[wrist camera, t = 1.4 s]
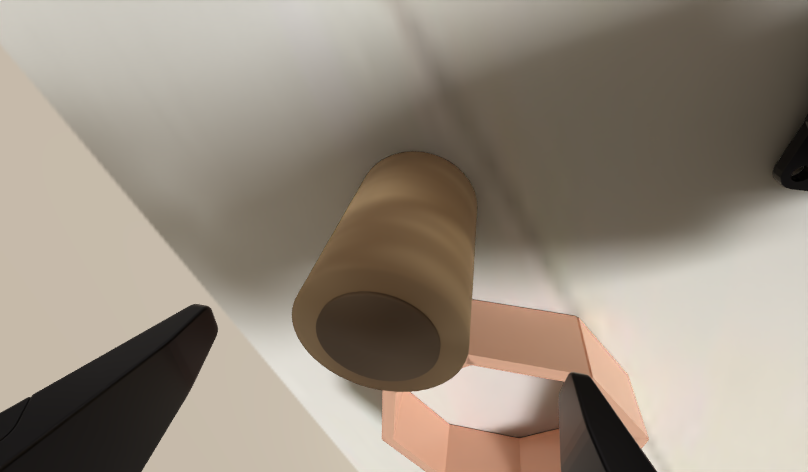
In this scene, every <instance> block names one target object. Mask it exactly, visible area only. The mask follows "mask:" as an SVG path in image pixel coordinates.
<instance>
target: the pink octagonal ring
mask: <svg viewBox="0 0 808 472" xmlns="http://www.w3.org/2000/svg"><path fill="white" fill-rule="evenodd" d="M469 365H474V366H480V367H485V368H491V369H497V370H502V371H508V372H513V373H519V374H524V375H530V376H535V377H541V378H546V379H552V380H558V381H563V382H565V380H566V378H567V376H568V374H569V373H571V372H576V373H582V374H586V375H588V376H590V377H591V378H592V379H593V381H594V382H595V384H596V385H597V387H598V388H599V389H600V391H601V392H602V394H603V395H604V397H605V398H606V399H607V401H608V402H609V404H610V405H611V407H612V408H613V409H614V411H615V412H616V414H617V415H618V417H619V418H620V419H621V421H622V422H623V424H624V425H625V427H626V428H627V429H628V431H629V432H630V434H631V435H632V437H633V438H634V439H635V441H636V442H637V444H638V445H639V447H640V448H641V449H642V447H643V446H644V445H645V444H646V443H647V441H648V440H649V439H648V438H649V437H648V434H647V431H646V428H645V425H644V422H643V419H642V416H641V413H640V410H639V407H638V404H637V401H636V397H635V394H634V391H633V388H632V385H631V382H630V379H629V376H628V374H627V373H626V372H625V371H624V370H623V368H622V367H621V366H620V365H619V364H618V363H617V361H616V360H615V359H614V358H613V357H612V356H611V354H610V353H609V352H608V351H607V350H606V349H605V347H604V346H603V345H602V344H601V343H600V342H599V341H598V339H597V338H596V337H595V336H594V335H593V334H592V332H591V331H590V330H589V329H588V328H587V327H586V325H585V324H584V323H583V322H582V321H581V320H580V318H577V317H576V316H571V315H565V314H559V313H553V312H546V311H540V310H534V309H528V308H521V307H515V306H509V305H502V304H496V303H490V302H484V301H477V300H472V307H471V324H470V342H469V352H468V356H467V359H466V362H465V363H464V365H463V367H462V368H464V367H466V366H469ZM382 439H383V441H385V442H386V443H387V444H389V445H390V446H391V447H393V448H394V449H396V450H397V451H398V452H400V453H401V454H402V455H404V456H405V457H406V458H408V459H409V460H411V461H412V462H413V463H415V464H416V465H417V466H419V467H420V468H422V469H423V470H424V471H426V472H561V463H560V434H559V429H556V430H552V431H548V432H543V433H539V434H535V435H531V436H527V437H523V438H515V437H510V436H505V435H500V434H495V433H490V432H485V431H480V430H475V429H470V428H465V427H460V426H455V425H450V424H448V423H447V422H446V421H445V420H443V419H442V418H441V417H440V416H438V415H437V414H436V413H435V412H434V411H432V410H431V409H430V408H429V407H427V406H426V405H425V404H424V403H423V402H421V401H420V400H419V399H418V398H416V397H415V396H414V395H413V394H411V393H410V392H394V391H384V390H383V395H382Z"/></svg>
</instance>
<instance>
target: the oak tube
mask: <svg viewBox="0 0 808 472" xmlns="http://www.w3.org/2000/svg"><path fill="white" fill-rule="evenodd" d="M476 221H477V199H476V195H475V192H474V189H473V187H472V185H471V183H470V181H469V180H468V178H467V177H466V176H465V174H464V173H463V172H462V171H461V170H460V169H459V168H458V167H456V166H455V165H454V164H452V163H451V162H449V161H447V160H446V159H444V158H442V157H439V156H437V155H434V154H430V153H425V152H416V151H411V152H402V153H397V154H394V155H391V156H389V157H387V158H385V159H383V160H381V161H380V162H378V163H377V164H376V165H375V166H374V167H373V168H372V169H371V170H370V171H369V172H368V174H367V175H366V177H365V179H364V180H363V182H362V184H361V186H360V187H359V189H358V191H357V193H356V194H355V196H354V198H353V199H352V201H351V203H350V205H349V206H348V208H347V210H346V212H345V213H344V215H343V217H342V219H341V220H340V222H339V224H338V225H337V227H336V229H335V231H334V232H333V234H332V236H331V238H330V239H329V241H328V243H327V244H326V246H325V248H324V250H323V251H322V253H321V255H320V257H319V258H318V260H317V262H316V264H315V265H314V267H313V269H312V270H311V272H310V274H309V276H308V277H307V279H306V281H305V283H304V284H303V286H302V288H301V289H300V291H299V293H298V295H297V297H296V298H295V301H294V304H293V308H292V322H293V326H294V330H295V332H296V334H297V337H298V339H299V340H300V342H301V343H302V345H303V346H304V348H305V349H306V350H307V351H308V353H309V354H310V355H311V356H312V357H313V358H314V359H315V360H317V361H318V362H319V363H320V364H321V365H323V366H324V367H326V368H327V369H328V370H330V371H332V372H333V373H335V374H337V375H338V376H340V377H342V378H344V379H347V380H349V381H351V382H354V383H356V384H359V385H362V386H366V387H369V388H373V389H378V390H384V391H394V392H411V391H420V390H425V389H429V388H432V387H436V386H438V385H440V384H443V383H445V382H446V381H448V380H449V379H451V378H452V377H453V376H455V375H456V374H457V373H458V372H459V371H460V369H461V368H462V367H463V365H464V363H465V362H466V359H467V356H468V352H469V342H470V324H471V307H472V290H473V273H474V256H475V238H476Z"/></svg>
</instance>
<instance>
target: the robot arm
mask: <svg viewBox="0 0 808 472" xmlns="http://www.w3.org/2000/svg"><path fill="white" fill-rule="evenodd" d="M802 166H804V168H803V169H802V170H801V171H800V172H799V173H797V174H795V175H791V174H792V172H793V171H795V170H796V169H797V168H799V167H802ZM773 177H774V178H775V179H776V180H777V181H778V182H779V183H780V184H781V185H783V186H784V187H786V188H789V189H795V190H804V191H808V115H807V116H806V118H805V121H804V123H803V124H802V126H801V127H800V129H799V130H798V132H797V134H796V135H795V137H794V138H793V140H792V141H791V143H790V144H789V146H788V147H787V149H786V150H785V152H784V153H783V155H782V156H781V158H780V159H779V161H778V162H777V164H776V165H775V167H774V170H773ZM217 332H218V327H217V323H216V321H215V318H214V315H213V313H212V310H211V308H210V307H208V306H204V305H199V304H193V305H191V306H189V307H187V308H185V309H183V310H181V311H180V312H178V313H176V314H174V315H173V316H171V317H169V318H168V319H166V320H164V321H162V322H161V323H159V324H157V325H155V326H153V327H151V328H150V329H148V330H146V331H144V332H143V333H141V334H139V335H138V336H136V337H134V338H132V339H130V340H129V341H127V342H125V343H123V344H121V345H120V346H118V347H117V348H115V349H113V350H111V351H109V352H108V353H106V354H104V355H102V356H101V357H99V358H97V359H95V360H93V361H92V362H90V363H88V364H86V365H84V366H83V367H81V368H79V369H77V370H76V371H74V372H72V373H70V374H68V375H67V376H65V377H63V378H61V379H60V380H58V381H56V382H54V383H53V384H51V385H49V386H47V387H46V388H44V389H42V390H40V391H39V392H37V393H35V394H33V395H32V397H28V398H26V399H24V400H22V401H21V402H19V403H17V404H15V405H14V406H12V407H10V408H8V409H6V410H5V411H3V412H1V413H0V472H141V471H142V470H143V468H144V466H145V464H146V463H147V462H148V460H149V458H150V456H151V455H152V453H153V452H154V450H155V448H156V447H157V445H158V443H159V442H160V440H161V438H162V437H163V435H164V433H165V432H166V430H167V428H168V427H169V425H170V423H171V422H172V420H173V418H174V417H175V415H176V414H177V412H178V410H179V408H180V407H181V405H182V404H183V402H184V400H185V399H186V397H187V395H188V393H189V392H190V390H191V388H192V386H193V384H194V382H195V380H196V378H197V376H198V374H199V372H200V369H201V367H202V365H203V363H204V361H205V359H206V357H207V355H208V353H209V351H210V348H211V347H212V344H213V342H214V340H215V338H216V336H217ZM559 434H560V463H561V472H657V471H656V469H655V468H654V467H653V465H652V464H651V462H650V461H649V459H648V458H647V457H646V455H645V454H644V452H643V451H642V449H641V448H640V447H639V445H638V444H637V442H636V441H635V439H634V438H633V437H632V435H631V434H630V432H629V431H628V429H627V428H626V427H625V425H624V424H623V422H622V421H621V419H620V418H619V417H618V415H617V414H616V412H615V411H614V409H613V408H612V407H611V405H610V404H609V402H608V401H607V399H606V398H605V397H604V395H603V394H602V392H601V391H600V389H599V388H598V387H597V385H596V384H595V382H594V381H593V379H592V378H591V377H590V376H588V375H586V374H582V373H576V372H571V373H569V374H568V376H567V378H566V380H565V382H564V384H563V386H562V388H561V390H560V393H559Z"/></svg>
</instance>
